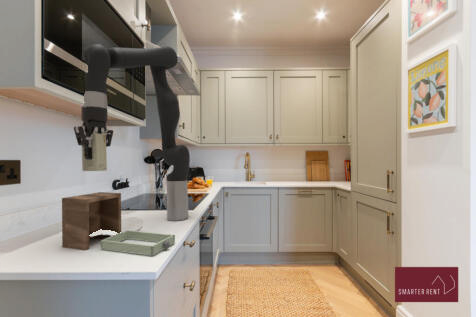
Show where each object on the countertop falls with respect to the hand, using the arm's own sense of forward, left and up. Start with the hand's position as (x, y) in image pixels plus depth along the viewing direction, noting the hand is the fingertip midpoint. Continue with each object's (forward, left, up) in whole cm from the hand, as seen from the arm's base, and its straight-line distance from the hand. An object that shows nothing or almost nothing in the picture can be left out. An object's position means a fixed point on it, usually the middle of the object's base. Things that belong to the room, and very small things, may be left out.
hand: (95, 159), depth 85 cm
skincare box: (0, 0, -4) cm, 4 cm away
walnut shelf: (0, -1, -27) cm, 27 cm away
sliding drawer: (0, +18, -27) cm, 32 cm away
